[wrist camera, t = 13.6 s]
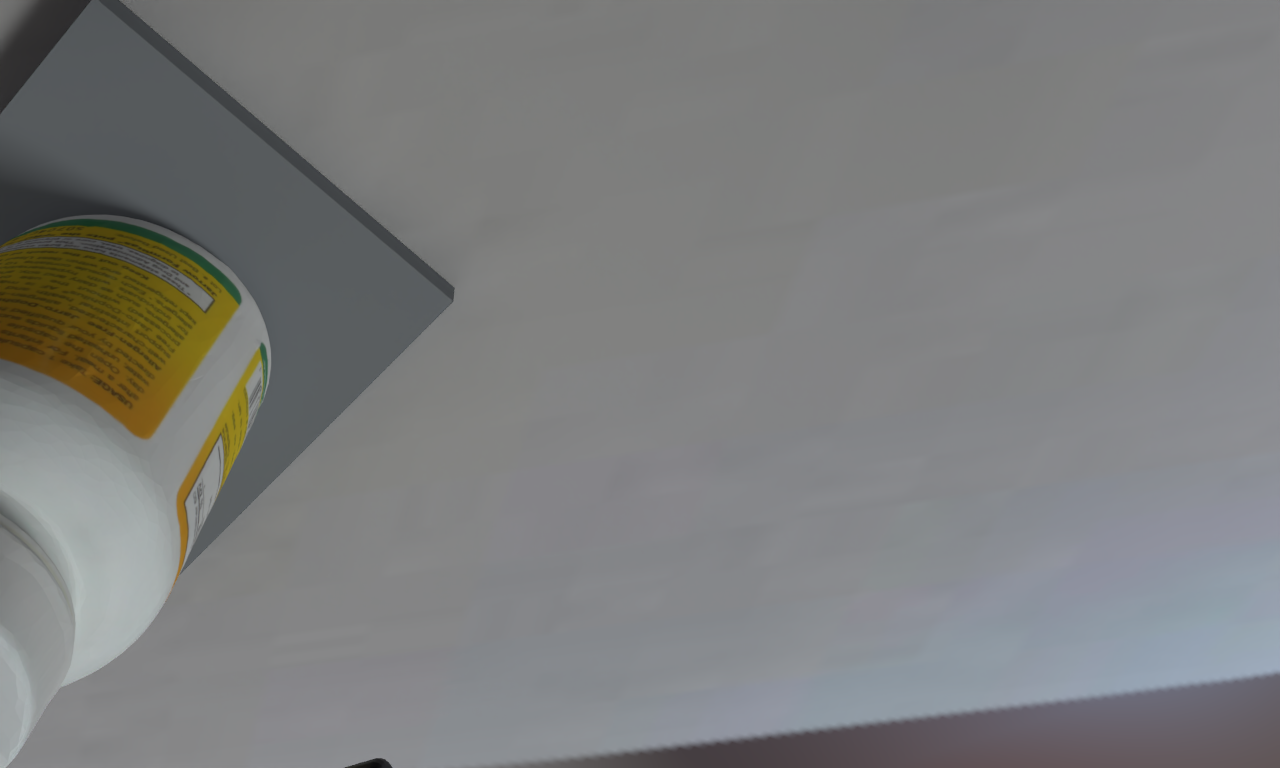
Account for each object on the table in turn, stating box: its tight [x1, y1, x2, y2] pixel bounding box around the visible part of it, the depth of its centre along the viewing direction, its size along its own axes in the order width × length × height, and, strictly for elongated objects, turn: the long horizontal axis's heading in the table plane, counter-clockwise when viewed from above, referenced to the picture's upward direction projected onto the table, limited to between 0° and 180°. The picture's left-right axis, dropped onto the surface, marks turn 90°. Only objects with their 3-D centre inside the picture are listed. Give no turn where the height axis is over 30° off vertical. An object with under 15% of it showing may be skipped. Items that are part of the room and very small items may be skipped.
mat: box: [0, 0, 454, 575], centre depth 18 cm, size 10×8×1 cm
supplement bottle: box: [0, 215, 271, 768], centre depth 14 cm, size 5×5×10 cm
